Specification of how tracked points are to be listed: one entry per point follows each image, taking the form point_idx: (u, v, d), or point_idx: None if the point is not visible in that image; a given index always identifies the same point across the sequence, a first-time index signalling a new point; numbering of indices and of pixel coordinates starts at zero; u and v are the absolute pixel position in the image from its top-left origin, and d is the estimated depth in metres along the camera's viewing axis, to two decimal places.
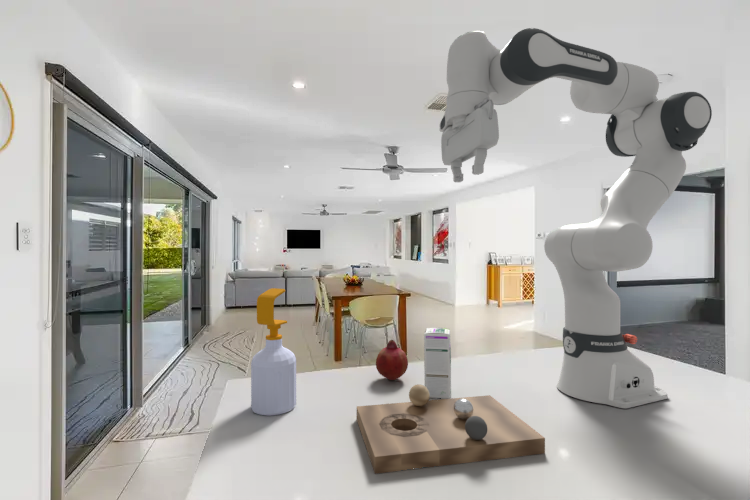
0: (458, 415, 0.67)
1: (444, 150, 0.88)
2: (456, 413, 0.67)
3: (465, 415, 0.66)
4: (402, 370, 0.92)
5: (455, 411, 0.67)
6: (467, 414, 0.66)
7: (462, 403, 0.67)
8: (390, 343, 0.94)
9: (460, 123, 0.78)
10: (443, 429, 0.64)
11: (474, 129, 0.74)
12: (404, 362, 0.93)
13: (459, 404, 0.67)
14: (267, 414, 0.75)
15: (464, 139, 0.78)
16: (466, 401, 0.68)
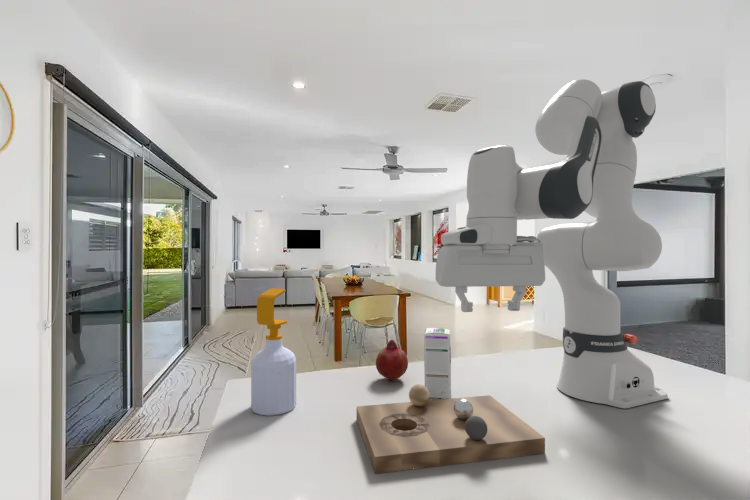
0: (458, 415, 0.67)
1: (452, 268, 0.66)
2: (456, 413, 0.67)
3: (465, 415, 0.66)
4: (402, 370, 0.92)
5: (455, 411, 0.67)
6: (467, 414, 0.66)
7: (462, 403, 0.67)
8: (390, 343, 0.94)
9: (507, 251, 0.67)
10: (443, 429, 0.64)
11: (530, 267, 0.69)
12: (404, 362, 0.93)
13: (459, 404, 0.67)
14: (267, 414, 0.75)
15: (507, 270, 0.68)
16: (466, 401, 0.68)
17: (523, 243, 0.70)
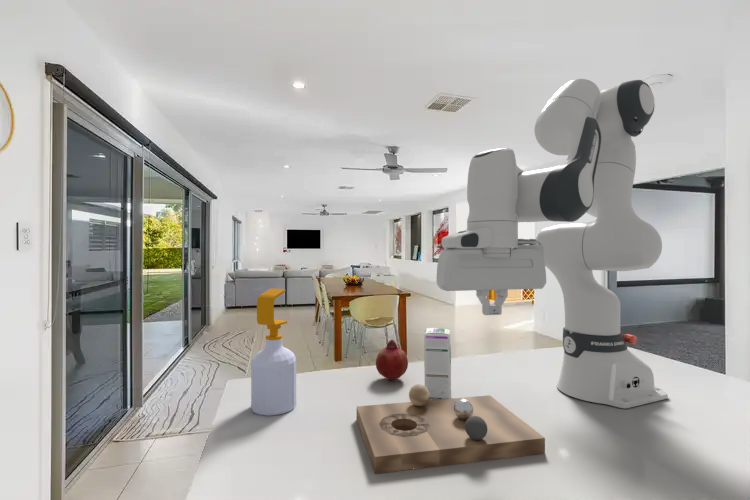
0: (458, 415, 0.67)
1: (453, 272, 0.66)
2: (456, 413, 0.67)
3: (465, 415, 0.66)
4: (402, 370, 0.92)
5: (455, 411, 0.67)
6: (467, 414, 0.66)
7: (462, 403, 0.67)
8: (390, 343, 0.94)
9: (508, 255, 0.67)
10: (443, 429, 0.64)
11: (532, 270, 0.69)
12: (404, 362, 0.93)
13: (459, 404, 0.67)
14: (267, 414, 0.75)
15: (508, 274, 0.68)
16: (466, 401, 0.68)
17: (524, 246, 0.70)
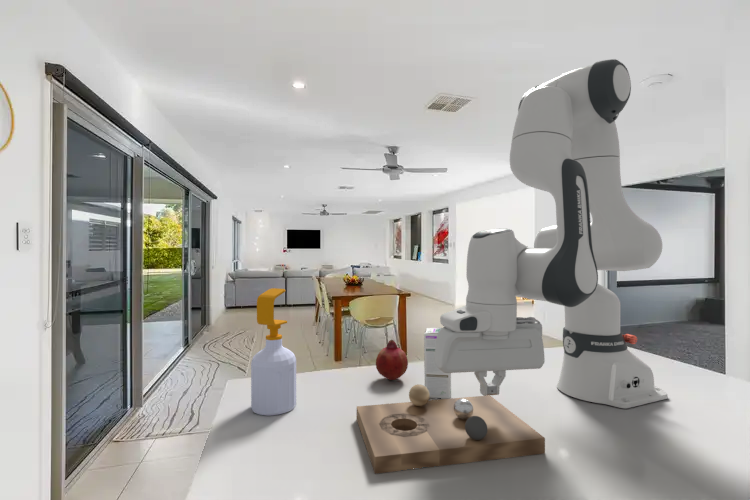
0: (458, 415, 0.67)
1: (451, 355, 0.65)
2: (456, 413, 0.67)
3: (465, 415, 0.66)
4: (402, 370, 0.92)
5: (455, 411, 0.67)
6: (467, 414, 0.66)
7: (462, 403, 0.67)
8: (390, 343, 0.94)
9: (507, 336, 0.67)
10: (443, 429, 0.64)
11: (530, 350, 0.68)
12: (404, 362, 0.93)
13: (459, 404, 0.67)
14: (267, 414, 0.75)
15: (507, 355, 0.68)
16: (466, 401, 0.68)
17: (522, 325, 0.70)
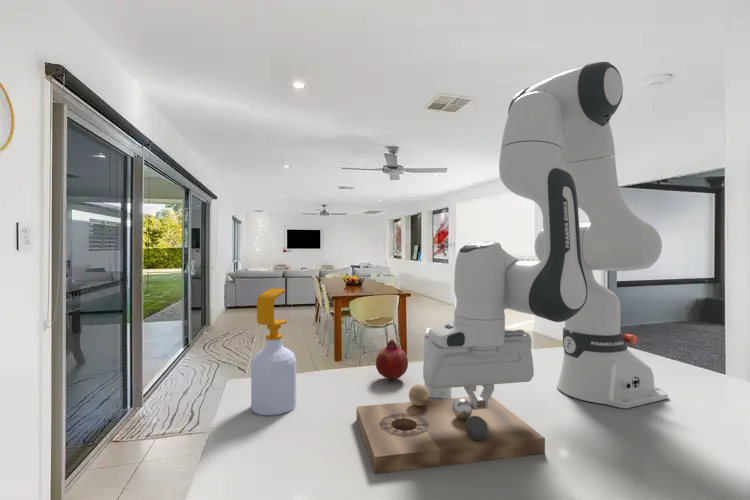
0: (457, 416, 0.67)
1: (439, 371, 0.65)
2: (455, 414, 0.67)
3: (465, 415, 0.66)
4: (402, 370, 0.92)
5: (454, 412, 0.67)
6: (466, 414, 0.66)
7: (460, 403, 0.67)
8: (390, 343, 0.94)
9: (495, 351, 0.66)
10: (443, 429, 0.64)
11: (519, 364, 0.68)
12: (404, 362, 0.93)
13: (458, 404, 0.67)
14: (267, 414, 0.75)
15: (495, 369, 0.67)
16: (464, 401, 0.68)
17: (511, 338, 0.69)
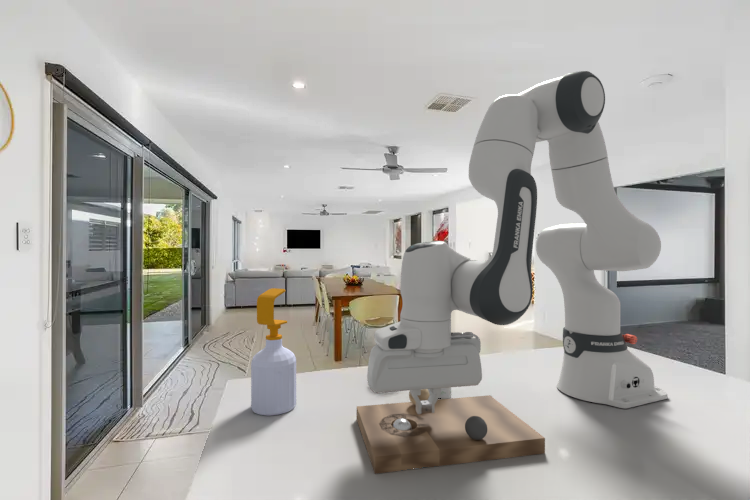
0: None
1: (381, 374, 0.63)
2: None
3: None
4: None
5: None
6: None
7: None
8: None
9: (440, 354, 0.64)
10: (443, 429, 0.64)
11: (466, 367, 0.66)
12: None
13: None
14: (267, 414, 0.75)
15: (441, 372, 0.65)
16: None
17: (459, 340, 0.67)
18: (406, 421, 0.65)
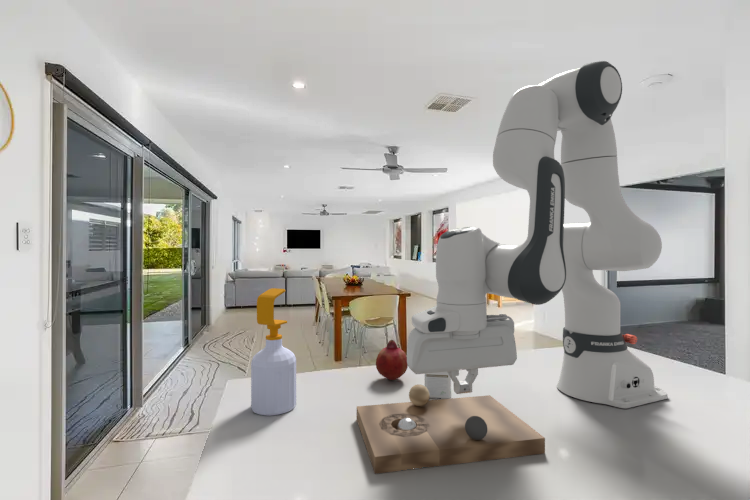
0: None
1: (421, 356, 0.66)
2: None
3: None
4: (402, 370, 0.92)
5: None
6: None
7: (399, 429, 0.65)
8: (390, 343, 0.94)
9: (477, 335, 0.67)
10: (443, 429, 0.64)
11: (502, 348, 0.69)
12: (404, 362, 0.93)
13: None
14: (267, 414, 0.75)
15: (478, 353, 0.68)
16: (401, 424, 0.65)
17: (494, 322, 0.70)
18: (415, 423, 0.66)
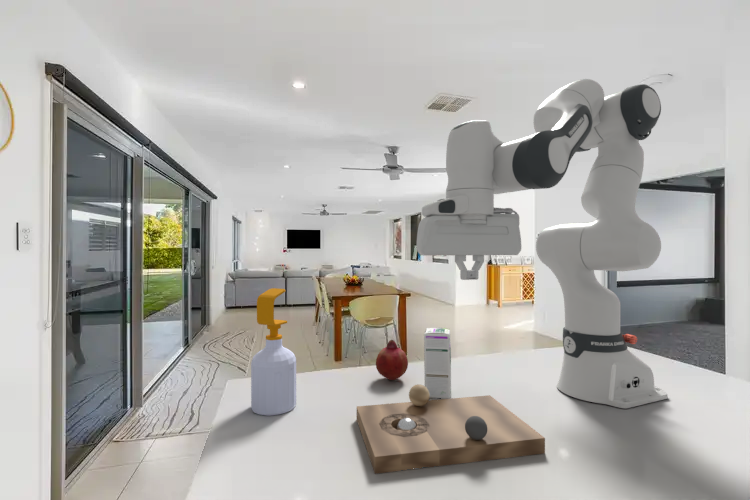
0: None
1: (431, 237, 0.69)
2: None
3: None
4: (402, 370, 0.92)
5: None
6: None
7: (399, 429, 0.65)
8: (390, 343, 0.94)
9: (484, 221, 0.70)
10: (443, 429, 0.64)
11: (507, 237, 0.72)
12: (404, 362, 0.93)
13: None
14: (267, 414, 0.75)
15: (485, 240, 0.71)
16: (401, 424, 0.65)
17: (500, 214, 0.73)
18: (415, 423, 0.66)
